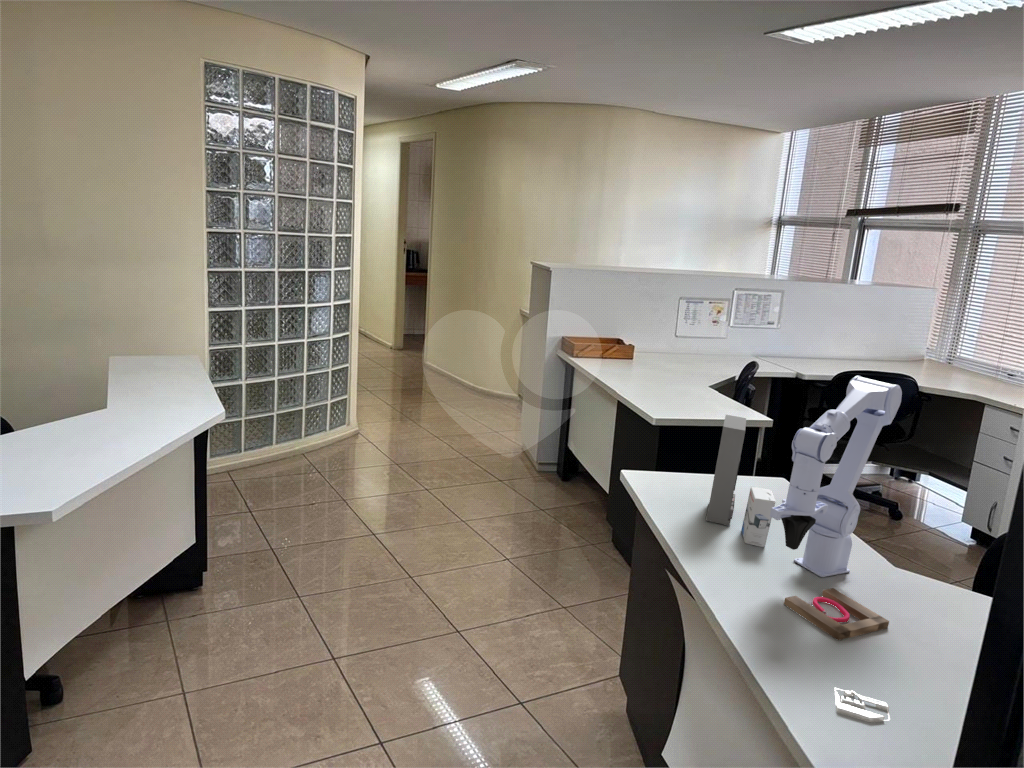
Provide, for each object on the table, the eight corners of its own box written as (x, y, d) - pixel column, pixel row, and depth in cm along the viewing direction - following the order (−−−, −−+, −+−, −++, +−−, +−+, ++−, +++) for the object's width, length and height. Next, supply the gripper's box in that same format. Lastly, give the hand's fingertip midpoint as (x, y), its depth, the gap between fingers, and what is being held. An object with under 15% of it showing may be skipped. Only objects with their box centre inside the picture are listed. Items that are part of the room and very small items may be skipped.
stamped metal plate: (835, 715, 112) (837, 707, 112) (833, 690, 118) (835, 682, 118) (891, 732, 109) (893, 724, 109) (886, 706, 116) (888, 698, 115)
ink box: (741, 529, 179) (749, 485, 176) (762, 533, 178) (770, 489, 175) (744, 544, 171) (753, 497, 168) (766, 548, 170) (776, 501, 167)
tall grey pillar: (730, 527, 180) (748, 431, 174) (705, 521, 182) (722, 426, 176) (732, 508, 193) (749, 418, 187) (709, 503, 195) (725, 414, 189)
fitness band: (806, 601, 147) (807, 594, 146) (833, 603, 147) (834, 596, 147) (825, 623, 139) (827, 616, 139) (854, 625, 140) (856, 618, 139)
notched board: (831, 594, 150) (833, 588, 150) (887, 628, 139) (889, 621, 139) (783, 604, 144) (785, 597, 143) (838, 640, 133) (840, 633, 132)
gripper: (812, 476, 154) (800, 535, 157) (764, 481, 148) (752, 542, 151) (840, 489, 148) (827, 549, 151) (791, 494, 142) (778, 558, 145)
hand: (791, 547), depth 151 cm, fingers closed
